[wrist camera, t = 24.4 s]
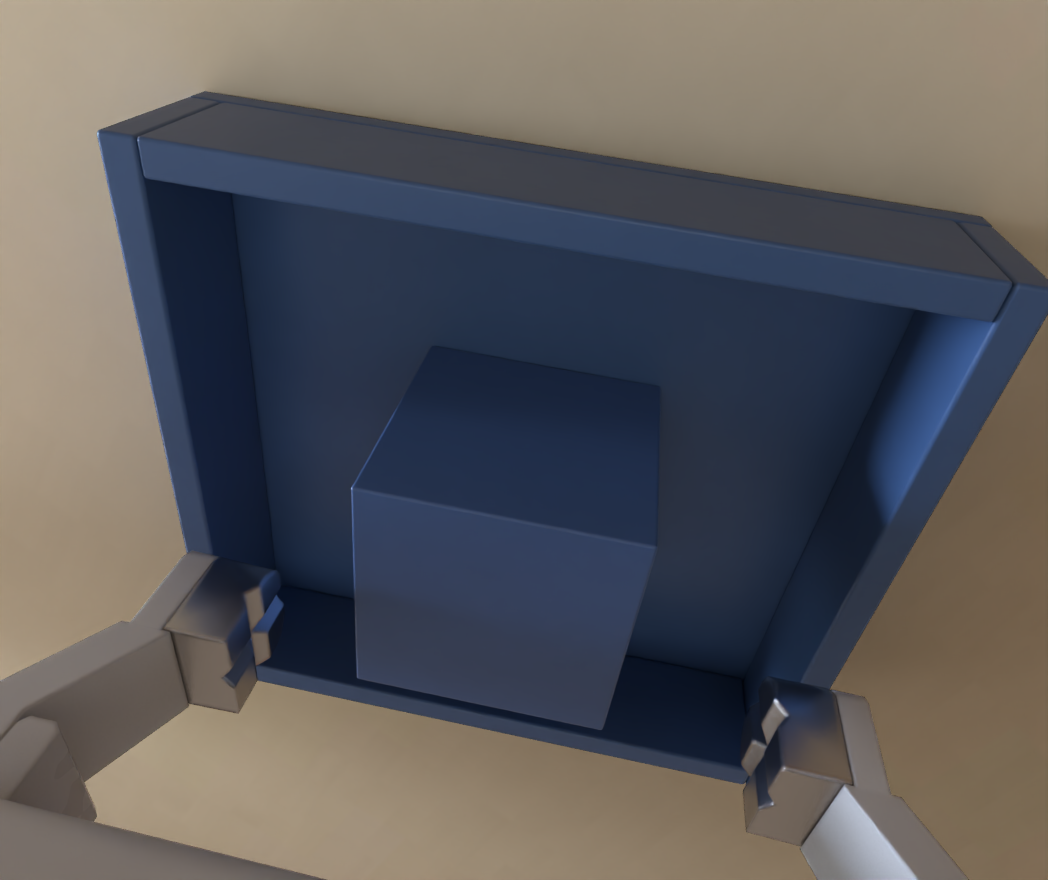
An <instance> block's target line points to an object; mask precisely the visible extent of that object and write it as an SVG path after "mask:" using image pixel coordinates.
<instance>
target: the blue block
mask: <svg viewBox="0 0 1048 880" xmlns="http://www.w3.org/2000/svg"><path fill="white" fill-rule="evenodd" d="M660 410H661V388H660V387H657V386H651V385H646V384H640V383H635V382H629V381H624V380H618V379H613V378H607V377H602V376H596V375H591V374H585V373H580V372H574V371H569V370H563V369H557V368H552V367H546V366H541V365H535V364H530V363H524V362H519V361H513V360H508V359H502V358H497V357H491V356H486V355H480V354H475V353H469V352H464V351H458V350H453V349H447V348H442V347H436V346H431V348H430V349H429V351H428V353H427V355H426V356H425V358H424V360H423V362H422V363H421V365H420V367H419V369H418V371H417V372H416V374H415V376H414V378H413V379H412V381H411V383H410V385H409V387H408V388H407V390H406V392H405V394H404V395H403V397H402V399H401V401H400V402H399V404H398V406H397V408H396V410H395V411H394V413H393V415H392V417H391V418H390V420H389V422H388V424H387V426H386V427H385V429H384V431H383V433H382V434H381V436H380V438H379V440H378V441H377V443H376V445H375V447H374V449H373V450H372V452H371V454H370V456H369V457H368V459H367V461H366V463H365V465H364V466H363V468H362V470H361V472H360V473H359V475H358V477H357V479H356V480H355V482H354V484H353V486H352V488H351V503H352V535H353V567H354V600H355V632H356V665H357V678H359V679H363V680H367V681H372V682H377V683H381V684H386V685H391V686H396V687H400V688H405V689H410V690H414V691H419V692H424V693H429V694H433V695H438V696H443V697H447V698H452V699H457V700H461V701H466V702H471V703H476V704H480V705H485V706H490V707H494V708H499V709H504V710H509V711H513V712H518V713H523V714H527V715H532V716H537V717H542V718H546V719H551V720H556V721H560V722H565V723H570V724H575V725H579V726H584V727H589V728H593V729H598V730H602V729H603V727H604V724H605V721H606V717H607V714H608V711H609V707H610V704H611V701H612V698H613V694H614V691H615V688H616V684H617V681H618V678H619V675H620V671H621V668H622V665H623V661H624V658H625V655H626V652H627V648H628V645H629V642H630V638H631V635H632V632H633V628H634V625H635V622H636V619H637V615H638V612H639V609H640V605H641V602H642V599H643V596H644V592H645V589H646V586H647V582H648V579H649V576H650V573H651V569H652V566H653V563H654V559H655V556H656V553H657V549H658V514H659V462H660Z"/></svg>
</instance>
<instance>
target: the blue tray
mask: <svg viewBox="0 0 1048 880" xmlns="http://www.w3.org/2000/svg"><path fill="white" fill-rule="evenodd" d="M97 137H98V142H99V146H100V151H101V156H102V160H103V165H104V170H105V174H106V179H107V184H108V188H109V193H110V198H111V202H112V207H113V212H114V216H115V221H116V226H117V230H118V235H119V240H120V244H121V249H122V254H123V258H124V263H125V268H126V272H127V277H128V281H129V286H130V291H131V295H132V300H133V305H134V309H135V314H136V319H137V323H138V328H139V333H140V337H141V342H142V347H143V351H144V356H145V361H146V365H147V370H148V375H149V379H150V384H151V389H152V393H153V398H154V403H155V407H156V412H157V417H158V421H159V426H160V431H161V435H162V440H163V445H164V449H165V454H166V459H167V463H168V468H169V473H170V477H171V482H172V487H173V491H174V496H175V500H176V505H177V510H178V514H179V519H180V524H181V528H182V533H183V538H184V542H185V547H186V552H187V553H189V552H191V551H196V552H201V553H205V554H209V555H214V556H218V557H223V558H227V559H231V560H235V561H239V562H243V563H247V564H251V565H255V566H259V567H264V568H268V569H272V570H275V571H278V572H280V577H281V583H282V586H281V588H280V589H279V591H278V593H277V596H278V598H279V599H280V600H281V601H282V602H283V603H284V610H285V617H284V626H283V629H282V632H281V636H280V639H279V642H278V644H277V646H276V648H275V650H274V652H273V653H272V655H271V657H270V658H269V659H267V660H266V661H264V662H262V663H260V664H259V665H257V666H256V671H257V678H258V681H263V682H267V683H272V684H277V685H281V686H286V687H291V688H295V689H300V690H305V691H309V692H314V693H319V694H323V695H328V696H333V697H337V698H342V699H347V700H351V701H356V702H361V703H365V704H370V705H375V706H379V707H384V708H389V709H393V710H398V711H403V712H407V713H412V714H417V715H421V716H426V717H431V718H435V719H440V720H445V721H449V722H454V723H459V724H463V725H468V726H473V727H477V728H482V729H487V730H491V731H496V732H501V733H505V734H510V735H515V736H519V737H524V738H529V739H533V740H538V741H543V742H547V743H552V744H557V745H561V746H566V747H571V748H575V749H580V750H585V751H589V752H594V753H599V754H603V755H608V756H613V757H617V758H622V759H627V760H631V761H636V762H641V763H645V764H650V765H655V766H659V767H664V768H669V769H673V770H678V771H683V772H687V773H692V774H697V775H701V776H706V777H711V778H715V779H720V780H725V781H729V782H734V783H739V784H744V783H745V782H746V784H747V782H748V780H749V779H750V776H749V775H748V774H747V772H746V771H745V769H744V768H743V766H742V765H741V753H740V745H741V733H742V728H743V723H744V719H745V716H746V714H747V712H748V710H749V707H750V706H752V705H754V704H756V703H758V702H759V693H758V689H759V687H760V685H761V683H762V681H763V680H764V679H765V678H766V677H768V676H770V677H775V678H780V679H785V680H790V681H795V682H800V683H804V684H809V685H814V686H819V687H824V688H828V689H830V688H831V686H832V684H833V683H834V681H835V679H836V677H837V676H838V674H839V672H840V670H841V669H842V667H843V665H844V664H845V662H846V660H847V658H848V657H849V655H850V653H851V652H852V650H853V648H854V646H855V645H856V643H857V641H858V640H859V638H860V636H861V634H862V633H863V631H864V629H865V628H866V626H867V624H868V622H869V621H870V619H871V617H872V616H873V614H874V612H875V610H876V609H877V607H878V605H879V603H880V602H881V600H882V598H883V597H884V595H885V593H886V591H887V590H888V588H889V586H890V585H891V583H892V581H893V579H894V578H895V576H896V574H897V573H898V571H899V569H900V567H901V566H902V564H903V562H904V561H905V559H906V557H907V555H908V554H909V552H910V550H911V548H912V547H913V545H914V543H915V542H916V540H917V538H918V536H919V535H920V533H921V531H922V530H923V528H924V526H925V524H926V523H927V521H928V519H929V518H930V516H931V514H932V512H933V511H934V509H935V507H936V506H937V504H938V502H939V500H940V499H941V497H942V495H943V494H944V492H945V490H946V488H947V487H948V485H949V483H950V481H951V480H952V478H953V476H954V475H955V473H956V471H957V469H958V468H959V466H960V464H961V463H962V461H963V459H964V457H965V456H966V454H967V452H968V451H969V449H970V447H971V445H972V444H973V442H974V440H975V439H976V437H977V435H978V433H979V432H980V430H981V428H982V426H983V425H984V423H985V421H986V420H987V418H988V416H989V414H990V413H991V411H992V409H993V408H994V406H995V404H996V402H997V401H998V399H999V397H1000V396H1001V394H1002V392H1003V390H1004V389H1005V387H1006V385H1007V384H1008V382H1009V380H1010V378H1011V377H1012V375H1013V373H1014V372H1015V370H1016V368H1017V366H1018V365H1019V363H1020V361H1021V359H1022V358H1023V356H1024V354H1025V353H1026V351H1027V349H1028V347H1029V346H1030V344H1031V342H1032V341H1033V339H1034V337H1035V335H1036V334H1037V332H1038V330H1039V329H1040V327H1041V325H1042V323H1043V322H1044V320H1045V318H1046V317H1047V315H1048V279H1047V278H1046V277H1045V276H1044V275H1043V274H1042V273H1041V272H1040V271H1038V270H1037V269H1036V268H1035V267H1034V266H1033V265H1032V264H1031V263H1030V262H1029V261H1028V260H1027V259H1026V258H1025V257H1024V256H1023V255H1021V254H1020V253H1019V252H1018V251H1017V250H1016V249H1015V248H1014V247H1013V246H1012V245H1011V244H1010V243H1009V242H1008V241H1007V240H1006V239H1005V238H1003V237H1002V236H1001V235H1000V234H999V233H998V232H997V231H996V230H995V229H994V228H992V226H991V225H990V224H989V223H988V222H987V221H986V220H985V219H984V218H982V217H980V216H974V215H968V214H961V213H955V212H949V211H943V210H937V209H930V208H924V207H918V206H912V205H906V204H899V203H893V202H887V201H881V200H875V199H868V198H862V197H856V196H850V195H844V194H837V193H831V192H825V191H819V190H813V189H806V188H800V187H794V186H788V185H782V184H775V183H769V182H763V181H757V180H751V179H744V178H738V177H732V176H726V175H720V174H713V173H707V172H701V171H695V170H689V169H682V168H676V167H670V166H664V165H658V164H651V163H645V162H639V161H633V160H627V159H620V158H614V157H608V156H602V155H596V154H589V153H583V152H577V151H571V150H565V149H558V148H552V147H546V146H540V145H534V144H527V143H521V142H515V141H509V140H503V139H496V138H490V137H484V136H478V135H472V134H466V133H459V132H453V131H447V130H441V129H435V128H428V127H422V126H416V125H410V124H404V123H397V122H391V121H385V120H379V119H373V118H366V117H360V116H354V115H348V114H342V113H335V112H329V111H323V110H317V109H311V108H304V107H298V106H292V105H286V104H280V103H273V102H267V101H261V100H255V99H249V98H242V97H236V96H230V95H224V94H218V93H211V92H205V91H204V92H201V93H199V94H196V95H193V96H191V97H189V98H186V99H183V100H180V101H177V102H175V103H172V104H169V105H166V106H164V107H161V108H158V109H155V110H153V111H150V112H147V113H144V114H142V115H139V116H136V117H133V118H130V119H128V120H125V121H122V122H119V123H117V124H114V125H111V126H108V127H106V128H103V129H100V130H98V132H97ZM431 346H436V347H442V348H447V349H453V350H458V351H464V352H469V353H475V354H480V355H486V356H491V357H497V358H502V359H508V360H513V361H519V362H524V363H530V364H535V365H541V366H546V367H552V368H557V369H563V370H569V371H574V372H580V373H585V374H591V375H596V376H602V377H607V378H613V379H618V380H624V381H629V382H635V383H640V384H646V385H651V386H657V387H660V388H661V410H660V462H659V514H658V549H657V553H656V556H655V559H654V563H653V566H652V569H651V573H650V576H649V579H648V582H647V586H646V589H645V592H644V596H643V599H642V602H641V605H640V609H639V612H638V615H637V619H636V622H635V625H634V628H633V632H632V635H631V638H630V642H629V645H628V648H627V652H626V655H625V658H624V661H623V665H622V668H621V671H620V675H619V678H618V681H617V684H616V688H615V691H614V694H613V698H612V701H611V704H610V707H609V711H608V714H607V717H606V721H605V724H604V727H603V729H602V730H598V729H593V728H589V727H584V726H579V725H575V724H570V723H565V722H560V721H556V720H551V719H546V718H542V717H537V716H532V715H527V714H523V713H518V712H513V711H509V710H504V709H499V708H494V707H490V706H485V705H480V704H476V703H471V702H466V701H461V700H457V699H452V698H447V697H443V696H438V695H433V694H429V693H424V692H419V691H414V690H410V689H405V688H400V687H396V686H391V685H386V684H381V683H377V682H372V681H367V680H363V679H359V678H357V665H356V632H355V600H354V567H353V535H352V503H351V488H352V486H353V484H354V482H355V480H356V479H357V477H358V475H359V473H360V472H361V470H362V468H363V466H364V465H365V463H366V461H367V459H368V457H369V456H370V454H371V452H372V450H373V449H374V447H375V445H376V443H377V441H378V440H379V438H380V436H381V434H382V433H383V431H384V429H385V427H386V426H387V424H388V422H389V420H390V418H391V417H392V415H393V413H394V411H395V410H396V408H397V406H398V404H399V402H400V401H401V399H402V397H403V395H404V394H405V392H406V390H407V388H408V387H409V385H410V383H411V381H412V379H413V378H414V376H415V374H416V372H417V371H418V369H419V367H420V365H421V363H422V362H423V360H424V358H425V356H426V355H427V353H428V351H429V349H430V348H431Z"/></svg>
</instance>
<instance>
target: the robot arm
mask: <svg viewBox="0 0 1048 880" xmlns="http://www.w3.org/2000/svg"><path fill="white" fill-rule="evenodd" d="M281 586H282V583H281V577H280V572H278V571H275V570H272V569H268V568H264V567H259V566H255V565H251V564H247V563H243V562H239V561H235V560H231V559H227V558H223V557H218V556H214V555H209V554H205V553H201V552H196V551H191V552H189V553H187V554H186V555H184V556H183V557H182V558H181V559H180V560H179V562H178V563H177V564H176V565H175V567H174V568H173V569H172V570H171V572H170V573H169V574H168V575H167V577H166V578H165V579H164V580H163V582H162V583H161V584H160V585H159V587H158V588H157V589H156V590H155V592H154V593H153V594H152V595H151V597H150V598H149V599H148V600H147V602H146V603H145V604H144V605H143V607H142V608H141V609H140V610H139V612H138V613H137V614H136V615H135V617H134V618H133V619H132V620H131V622H125V621H120V622H118V623H116V624H114V625H112V626H110V627H108V628H106V629H104V630H102V631H100V632H98V633H96V634H94V635H92V636H90V637H88V638H86V639H84V640H82V641H80V642H78V643H76V644H74V645H72V646H70V647H68V648H66V649H64V650H62V651H59V652H57V653H55V654H53V655H51V656H49V657H47V658H45V659H43V660H41V661H39V662H37V663H35V664H33V665H31V666H29V667H27V668H25V669H23V670H21V671H19V672H17V673H15V674H13V675H11V676H9V677H7V678H5V679H3V680H1V681H0V880H326V879H322V878H318V877H314V876H310V875H306V874H302V873H298V872H294V871H290V870H286V869H282V868H278V867H274V866H270V865H266V864H262V863H258V862H254V861H250V860H246V859H242V858H238V857H234V856H230V855H226V854H222V853H218V852H214V851H210V850H206V849H202V848H198V847H194V846H190V845H186V844H182V843H178V842H173V841H169V840H165V839H161V838H157V837H153V836H149V835H145V834H141V833H137V832H133V831H129V830H125V829H121V828H117V827H113V826H109V825H105V824H101V823H97V822H94V820H95V819H96V817H97V814H96V808H95V805H94V803H93V801H92V799H91V797H90V794H89V792H88V790H87V788H86V785H85V783H84V782H85V781H86V780H88V779H89V778H91V777H92V776H93V775H95V774H96V773H98V772H99V771H100V770H102V769H103V768H104V767H106V766H107V765H109V764H110V763H111V762H113V761H114V760H116V759H117V758H118V757H120V756H121V755H122V754H124V753H125V752H127V751H128V750H129V749H131V748H132V747H134V746H135V745H136V744H138V743H139V742H140V741H142V740H143V739H145V738H146V737H147V736H149V735H150V734H152V733H153V732H154V731H156V730H157V729H158V728H160V727H161V726H163V725H164V724H165V723H167V722H168V721H170V720H171V719H172V718H174V717H175V716H176V715H178V714H179V713H181V712H182V711H183V710H185V709H186V708H188V707H189V704H194V705H199V706H204V707H209V708H214V709H218V710H223V711H228V712H233V713H238V714H239V712H240V710H241V708H242V707H243V705H244V703H245V701H246V700H247V698H248V696H249V694H250V693H251V691H252V689H253V687H254V686H255V684H256V682H257V680H258V678H257V671H256V666H257V665H259V664H260V663H262V662H264V661H266V660H267V659H269V658H270V657H271V655H272V653H273V652H274V650H275V648H276V646H277V644H278V642H279V639H280V636H281V632H282V629H283V626H284V617H285V610H284V603H283V602H282V601H281V600H280V599H279V598H278V596H277V593H278V591H279V589H280V588H281ZM758 693H759V702H758V703H756V704H754V705H752V706H750V707H749V710H748V712H747V714H746V716H745V719H744V723H743V728H742V733H741V745H740V753H741V765H742V766H743V768H744V769H745V771H746V772H747V774H748V775H749V776H750V779H749V780H748V782H747V784H746V786H745V788H744V790H743V798H744V811H745V824H746V832H748V833H752V834H756V835H759V836H763V837H767V838H771V839H775V840H779V841H782V842H786V843H790V844H794V845H798V846H801V848H800V850H801V852H802V853H803V855H804V857H805V859H806V860H807V862H808V864H809V866H810V867H811V869H812V871H813V873H814V874H815V876H816V878H817V880H969V879H968V878H967V876H966V875H965V874H964V873H963V871H962V870H961V869H960V868H959V867H958V865H957V864H956V863H955V862H954V861H953V859H952V858H951V857H950V856H949V854H948V853H947V852H946V851H945V850H944V848H943V847H942V846H941V845H940V844H939V842H938V841H937V840H936V839H935V838H934V836H933V835H932V834H931V833H930V831H929V830H928V829H927V828H926V827H925V825H924V824H923V823H922V822H921V821H920V819H919V818H918V817H917V816H916V814H915V813H914V812H913V811H912V810H911V808H910V807H909V806H908V805H907V804H906V802H905V801H904V800H903V799H902V797H898V796H895V795H891V791H890V787H889V783H888V779H887V775H886V771H885V767H884V762H883V758H882V754H881V750H880V746H879V742H878V738H877V734H876V730H875V726H874V722H873V718H872V714H871V710H870V706H869V703H868V701H867V700H866V698H865V697H863V696H858V695H854V694H849V693H845V692H840V691H835V690H830V689H828V688H824V687H819V686H814V685H809V684H804V683H800V682H795V681H790V680H785V679H780V678H775V677H770V676H768V677H766V678H765V679H764V680H763V681H762V683H761V685H760V687H759V689H758ZM188 703H189V704H188Z"/></svg>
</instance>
